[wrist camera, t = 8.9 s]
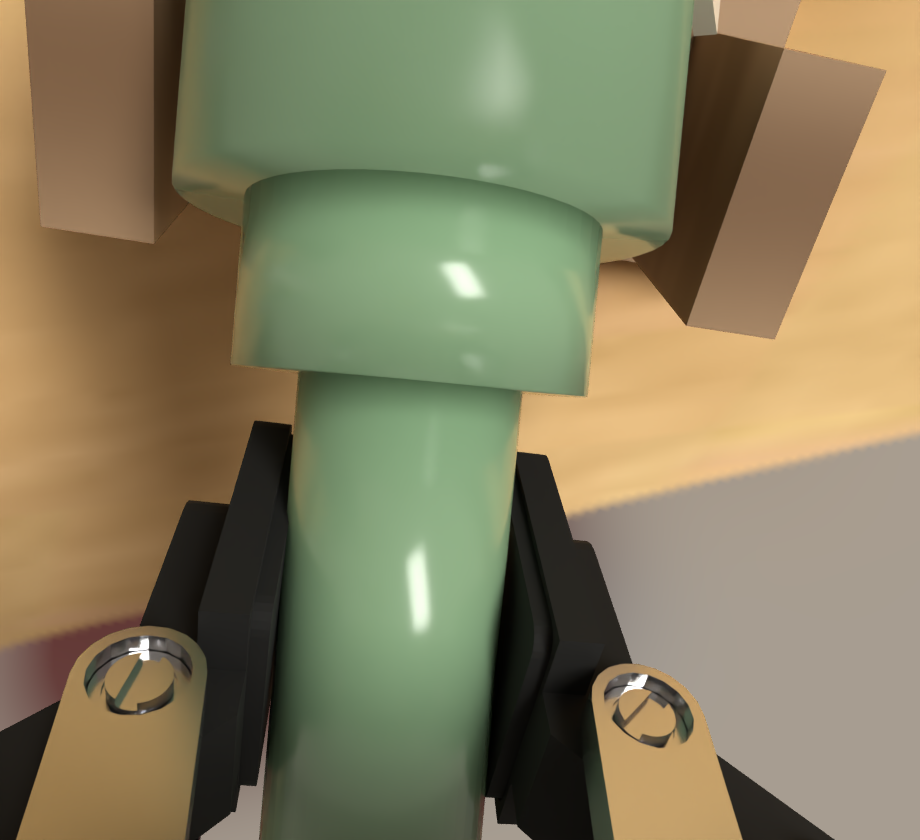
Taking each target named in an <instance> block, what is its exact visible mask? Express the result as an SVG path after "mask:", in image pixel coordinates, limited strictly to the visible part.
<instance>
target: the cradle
mask: <svg viewBox="0 0 920 840" xmlns="http://www.w3.org/2000/svg"><path fill="white" fill-rule="evenodd" d="M800 1H801V0H720V9H719V19H718V30H717V34H715V35H703V36H694V35H693V29H692V32H691V43H690V53H689V63H688V74H687V84H686V95H685V105H684V115H683V126H682V136H681V146H680V157H679V167H678V178H677V188H676V198H675V209H674V219H673V230H672V233H671V236H670V238H669V240H667V241H666V242H665V243H664V244H663V245H662V246H660V247H658V248H656V249H655V250H653V251H650V252H647V253H645V254H642V255H639V256H635V257H631V258H627V259H623V260H624V261H630V262H636V263H637V264H638V266H639V267H640V268H641V269H642V271H643V272H644V273H645V275H646V276H647V277H648V278H649V280H650V281H651V282H652V283H653V285H654V286H655V287H656V288H657V290H658V291H659V292H660V293H661V295H662V296H663V297H664V298H665V300H666V301H667V302H668V303H669V305H670V306H671V307H672V308H673V310H674V311H675V312H676V314H677V315H678V316H679V317H680V319H681V320H682V321H683V322H684V324H685V325H686V326H691V327H697V328H704V329H710V330H717V331H723V332H730V333H736V334H743V335H749V336H756V337H762V338H769V339H775V337H776V335H777V332H778V330H779V328H780V325H781V323H782V320H783V318H784V316H785V313H786V311H787V308H788V306H789V304H790V301H791V299H792V296H793V294H794V292H795V289H796V287H797V284H798V282H799V280H800V277H801V275H802V272H803V270H804V268H805V265H806V263H807V260H808V258H809V256H810V253H811V251H812V248H813V246H814V244H815V241H816V239H817V236H818V234H819V232H820V229H821V227H822V224H823V222H824V220H825V217H826V215H827V212H828V210H829V208H830V205H831V203H832V200H833V198H834V196H835V193H836V191H837V188H838V186H839V183H840V181H841V179H842V176H843V174H844V171H845V169H846V167H847V164H848V162H849V159H850V157H851V155H852V152H853V150H854V147H855V145H856V143H857V140H858V138H859V135H860V133H861V131H862V128H863V126H864V123H865V121H866V119H867V116H868V114H869V111H870V109H871V107H872V104H873V102H874V99H875V97H876V95H877V92H878V90H879V87H880V85H881V83H882V80H883V78H884V75H885V73H886V70H882V69H877V68H873V67H868V66H864V65H859V64H855V63H851V62H846V61H842V60H837V59H833V58H828V57H824V56H819V55H815V54H811V53H806V52H802V51H797V50H793V49H788V48H784V46H785V44H786V41H787V38H788V35H789V32H790V30H791V27H792V24H793V21H794V18H795V15H796V13H797V10H798V7H799V4H800ZM185 4H186V0H25V14H26V28H27V42H28V56H29V69H30V83H31V97H32V111H33V125H34V139H35V153H36V167H37V181H38V194H39V208H40V222H41V227H47V228H54V229H60V230H67V231H73V232H80V233H86V234H93V235H99V236H106V237H112V238H119V239H125V240H132V241H138V242H145V243H151V244H154V243H155V242H156V241H157V240H158V239H159V237H160V236H161V235H162V234H163V233H164V232H165V230H166V229H167V228H168V227H169V226H170V224H171V223H172V222H173V221H174V220H175V219H176V217H177V216H178V215H179V214H180V213H181V212H182V210H183V209H184V208H185V207H186V206H187V205H188V203H189V202H188V201H186V200H185V199H184V198H183V197H182V196H180V195H179V194H178V193H177V192H176V190H175V188H174V186H173V185H172V167H173V155H174V142H175V130H176V117H177V105H178V92H179V80H180V67H181V55H182V42H183V29H184V17H185Z"/></svg>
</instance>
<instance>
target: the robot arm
mask: <svg viewBox="0 0 920 840" xmlns="http://www.w3.org/2000/svg"><path fill="white" fill-rule="evenodd" d="M291 432H292V425H289V424H281V423H272V422H264V421H254V424H253V427H252V431H251V434H250V438H249V441H248V444H247V448H246V451H245V455H244V458H243V461H242V465H241V468H240V471H239V475H238V478H237V482H236V485H235V488H234V492H233V495H232V499H231V502H230V504H220V503H210V502H201V501H191V500H189V501H188V502H187V503H186V505H185V507H184V509H183V512H182V515H181V517H180V520H179V523H178V525H177V528H176V531H175V533H174V536H173V539H172V541H171V544H170V547H169V549H168V552H167V555H166V557H165V560H164V563H163V565H162V568H161V571H160V573H159V576H158V579H157V581H156V584H155V587H154V589H153V592H152V595H151V597H150V600H149V603H148V605H147V608H146V611H145V613H144V616H143V619H142V621H141V624H140V627H132V628H128V629H124V630H121V631H118V632H115V633H111V634H109V635H107V636H106V637H104V638H102V639H100V640H98V641H97V642H95V643H93V644H92V645H91V646H90V647H89V648H88V649H86V650H85V651H84V652H83V653H82V654H81V655H80V656H79V657H78V659H77V660H76V662H75V664H74V666H73V668H72V670H71V672H70V674H69V677H68V680H67V683H66V686H65V689H64V692H63V695H62V699H61V700H60V701H58V702H56V703H54V704H52V705H51V706H49V707H46V708H44V709H43V710H41V711H39V712H37V713H35V714H33V715H31V716H30V717H27V718H25V719H24V720H22V721H20V722H18V723H16V724H14V725H12V726H10V727H8V728H6V729H4V730H2V731H1V732H0V840H200V838H201V835H203V834H204V833H205V832H207V831H208V830H209V829H211V828H212V827H213V826H215V825H216V824H217V823H219V822H220V821H221V820H223V819H224V818H226V817H227V816H228V815H229V814H230V813H231V812H235V811H236V807H237V801H238V796H239V790H240V785H247V786H256V785H257V780H258V774H259V768H260V762H261V756H262V749H263V743H264V737H265V731H266V725H267V718H268V713H269V707H270V700H271V692H272V680H273V668H274V656H275V644H276V632H277V621H278V611H279V601H280V593H281V584H282V575H283V567H284V558H285V549H286V541H287V532H288V524H289V521H288V514H287V503H288V490H289V478H290V466H291V454H292V443H293V434H291ZM485 797H492V798H495V806H496V814H497V823H498V824H517V826H518V827H519V828H520V829H521V830H522V831H523V832H524V833H525V834H527V835H528V836H529V837H530V838H531V839H532V840H834V839H833V838H831V837H830V836H829V835H827V834H826V833H825V832H823V831H822V830H820V829H819V828H818V827H816V826H815V825H813V824H812V823H811V822H809V821H808V820H806V819H805V818H804V817H802V816H801V815H799V814H798V813H797V812H795V811H794V810H793V809H791V808H790V807H788V806H787V805H786V804H784V803H783V802H782V801H780V800H779V799H777V798H776V797H775V796H773V795H772V794H771V793H769V792H768V791H766V790H765V789H764V788H762V787H761V786H759V785H758V784H757V783H755V782H754V781H752V780H751V779H750V778H748V777H747V776H745V775H744V774H743V773H741V772H740V771H738V770H737V769H736V768H735V767H733V766H732V765H730V764H729V763H728V762H726V761H725V760H724V759H722V758H721V757H719V756H718V755H717V754H716V752H715V749H714V746H713V742H712V739H711V736H710V732H709V729H708V726H707V723H706V720H705V716H704V714H703V712H702V710H701V708H700V706H699V704H698V702H697V701H696V699H695V698H694V697H693V696H692V695H691V694H690V693H689V691H688V690H687V689H686V688H685V687H684V686H683V685H681V684H680V683H679V682H677V681H676V680H675V679H673V678H672V677H671V676H669V675H667V674H665V673H663V672H661V671H659V670H657V669H654V668H651V667H647V666H643V665H640V664H632V661H631V658H630V655H629V652H628V649H627V646H626V643H625V640H624V637H623V634H622V631H621V628H620V625H619V622H618V619H617V616H616V613H615V611H614V607H613V605H612V602H611V598H610V596H609V593H608V590H607V587H606V584H605V581H604V578H603V575H602V572H601V569H600V566H599V563H598V560H597V557H596V554H595V552H594V549H593V547H592V545H591V544H590V543H589V542H587V541H579V540H573V538H572V535H571V532H570V528H569V525H568V522H567V519H566V515H565V512H564V509H563V506H562V502H561V499H560V496H559V493H558V489H557V486H556V483H555V480H554V476H553V473H552V470H551V467H550V463H549V460H548V458H547V456H546V455H540V454H532V453H523V452H517V457H516V468H515V479H514V489H513V500H512V511H511V522H510V533H509V544H508V555H507V566H506V577H505V587H504V598H503V609H502V620H501V631H500V642H499V653H498V664H497V675H496V685H495V696H494V707H493V718H492V729H491V740H490V751H489V762H488V773H487V783H486V793H485Z"/></svg>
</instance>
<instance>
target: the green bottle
mask: <svg viewBox="0 0 920 840" xmlns="http://www.w3.org/2000/svg"><path fill="white" fill-rule="evenodd" d="M719 9H720V0H186V4H185V17H184V29H183V42H182V55H181V67H180V80H179V92H178V105H177V117H176V130H175V142H174V155H173V167H172V185H173V186H174V188H175V190H176V192H177V193H178V194H179V195H180V196H182V197H183V198H184V199H185V200H186V201H188V202H189V203H191V204H192V205H194V206H195V207H197V208H199V209H201V210H203V211H205V212H207V213H209V214H211V215H213V216H215V217H218V218H220V219H222V220H225V221H227V222H230V223H233V224H236V225H238V226H241V238H240V250H239V262H238V274H237V286H236V299H235V311H234V323H233V335H232V347H231V360H230V365H234V366H240V367H247V368H256V369H264V370H273V371H282V372H291V373H298V383H297V395H296V407H295V419H294V431H293V443H292V454H291V466H290V478H289V490H288V503H287V514H288V521H289V524H288V532H287V541H286V549H285V558H284V567H283V575H282V584H281V593H280V601H279V611H278V621H277V632H276V644H275V656H274V668H273V680H272V692H271V703H270V704H271V705H270V715H269V727H268V739H267V751H266V763H265V775H264V787H263V799H262V810H261V822H260V835H259V840H481V838H482V826H483V815H484V805H485V793H486V783H487V773H488V762H489V751H490V740H491V729H492V718H493V707H494V696H495V685H496V675H497V664H498V653H499V642H500V631H501V620H502V609H503V598H504V587H505V577H506V566H507V555H508V544H509V533H510V522H511V511H512V500H513V489H514V479H515V468H516V457H517V446H518V435H519V424H520V413H521V402H522V394H535V395H549V396H564V397H588V386H589V376H590V365H591V354H592V344H593V333H594V322H595V312H596V301H597V290H598V280H599V269H600V263H606V262H612V261H617V260H623V259H627V258H631V257H635V256H639V255H642V254H645V253H647V252H650V251H653V250H655V249H656V248H658V247H660V246H662V245H663V244H664V243H665V242H666V241H667V240H669V238H670V236H671V233H672V230H673V219H674V209H675V198H676V188H677V178H678V167H679V157H680V146H681V136H682V126H683V115H684V105H685V95H686V84H687V74H688V63H689V53H690V43H691V32H692V29H693V35H694V36H703V35H715V34H717V30H718V19H719Z"/></svg>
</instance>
